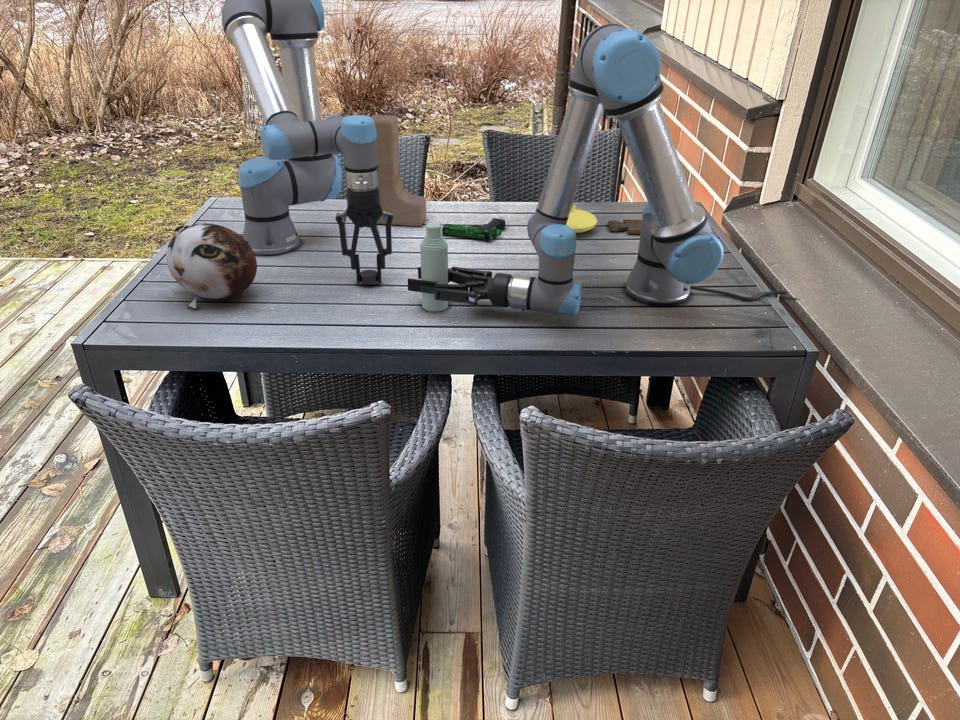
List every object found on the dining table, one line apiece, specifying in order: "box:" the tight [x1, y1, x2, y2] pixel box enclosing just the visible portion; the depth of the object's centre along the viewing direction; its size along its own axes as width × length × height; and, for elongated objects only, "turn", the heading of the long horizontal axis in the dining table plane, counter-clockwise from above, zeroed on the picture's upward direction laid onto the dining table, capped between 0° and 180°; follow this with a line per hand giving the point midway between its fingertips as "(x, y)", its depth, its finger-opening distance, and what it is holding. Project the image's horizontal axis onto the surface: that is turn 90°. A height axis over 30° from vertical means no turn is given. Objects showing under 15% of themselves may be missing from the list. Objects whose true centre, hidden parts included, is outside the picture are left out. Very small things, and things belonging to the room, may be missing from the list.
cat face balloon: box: [165, 222, 258, 309], centre depth 165 cm, size 22×18×20 cm
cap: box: [360, 269, 378, 285], centre depth 175 cm, size 4×4×2 cm
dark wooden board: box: [607, 219, 642, 235], centre depth 211 cm, size 26×2×10 cm
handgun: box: [441, 217, 506, 242], centre depth 207 cm, size 16×3×15 cm
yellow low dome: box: [566, 204, 598, 234], centre depth 209 cm, size 16×16×7 cm
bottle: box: [419, 222, 449, 312], centre depth 161 cm, size 6×6×20 cm
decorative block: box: [370, 114, 427, 227], centre depth 207 cm, size 8×15×30 cm, turn 82°
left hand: (369, 280), depth 175 cm, fingers closed on cap, 4 cm apart
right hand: (413, 278), depth 164 cm, fingers closed on bottle, 6 cm apart
